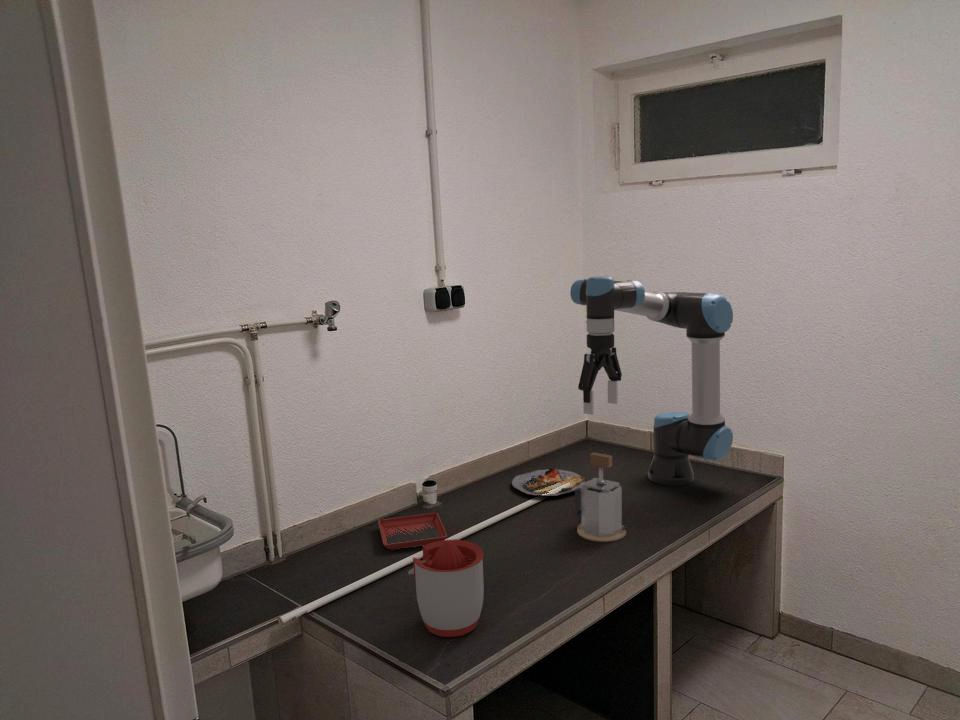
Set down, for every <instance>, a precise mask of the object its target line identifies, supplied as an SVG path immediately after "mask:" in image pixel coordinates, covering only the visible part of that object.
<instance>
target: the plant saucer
mask: <svg viewBox="0 0 960 720" xmlns="http://www.w3.org/2000/svg"><path fill="white" fill-rule="evenodd" d="M377 523H378V526H379V531H380V536H381V537H380V538H381V539H382V540H381V541H382V545H383V546H384V547H385V548H386V549H388V550H389V549H396V548H403V547H410V546H417V545H426V544H429V543H432V542H436V541H442V540H446V539H447V537H448V534H447V531H446V529H445V527H444V525H443V523H442V520H441V518H440V516H439V513H437V512H430V513H424V514H423V513H421V514H415V515H409V516H408V515H407V516H399V517H393V518H385V519H379V520H378V521H377ZM428 523H430V524H431V523H432V525H434V527H435V528H436V530H437V531H438V533H439V535H440V537H435V538H427V539H420V540H413V541H406V542H398V543H391V544H388V543H387V538H386V536H387V537H388V536H389V535H391V536H393V535H392V534H394V533H395V532H396V533H397V531H398V532H400V533H403V532H402V531H405V532H407V531H408V530H409V532H410V531H411V532H413V533H414V531H416V532H418V531H417V530H416V529H418V530H420V531H421V529H423V530H424V528H423V527H425V528H426V529H427V527H426V526H427V525H428V527H431V529H432V528H433V526H431V525H430V524H428ZM425 524H426V526H425ZM422 526H423V527H422ZM396 527H397V528H398V529H400V530H402V531H400V530H398V529H397V528H396ZM388 528H389V529H388ZM392 528H393V529H392ZM404 528H405V529H407V531H406V530H405V529H404ZM410 528H411V529H410ZM415 528H416V529H415ZM420 528H421V529H420ZM386 530H387V531H386ZM395 530H396V531H395ZM413 530H414V531H413ZM393 532H394V533H393ZM409 532H407V533H409ZM421 532H422V531H421ZM386 533H387V534H389V535H387V534H386ZM391 533H392V534H391ZM418 533H419V532H418ZM398 534H399V533H398ZM403 534H405V533H403ZM409 534H411V533H409ZM394 535H396V534H394ZM405 535H406V534H405ZM411 535H412V534H411ZM416 535H417V534H416ZM389 537H390V536H389ZM391 538H392V537H391Z"/></svg>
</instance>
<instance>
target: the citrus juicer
mask: <svg viewBox="0 0 960 720" xmlns="http://www.w3.org/2000/svg"><path fill="white" fill-rule="evenodd" d="M484 555H485V553H484V551H483V549H482V547H480V546H479V545H478V544H476V543H474V542H471V541H467V540H461V539H445V540H442V541H436V542H432V543H429V544H427V545H424V546H422V560H421V559H420V558H417V557H412V564H413V567H412V568H411V569H409V570H408V572H407V575H413V580H415V591H416V592H415V593H416V600H417V606H418V609H419V614H420V615H421V619H422V620H421V621H423V624H424V625H425V627H426V630H427V631H428V632H430V633H431V634H433V635H436V636H438V637H443V638H454V637H463V636H464V635H467V634H470V632H472V631H473V630H474V629H475V628H476V627H477V625H478V623H479V620H480V617H481V614H482V613H481V612H482V609H483V605H484V604H483V603H484V592H485V591H484V589H485V588H484V587H485V586H484V568H483V567H484V564H483V561H484V560H483V558H484Z"/></svg>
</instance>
